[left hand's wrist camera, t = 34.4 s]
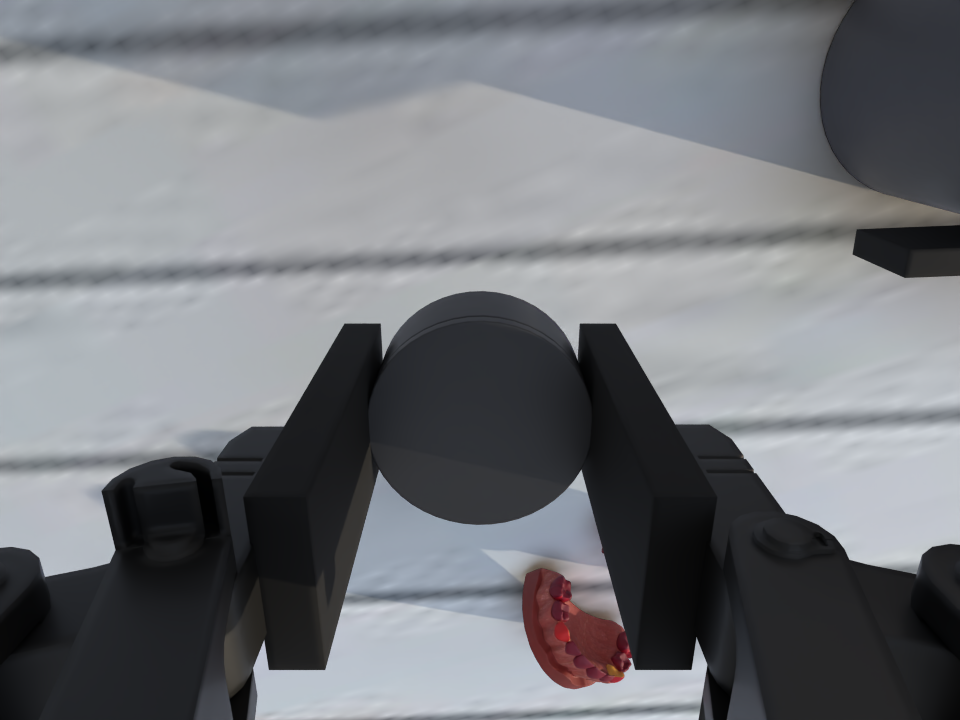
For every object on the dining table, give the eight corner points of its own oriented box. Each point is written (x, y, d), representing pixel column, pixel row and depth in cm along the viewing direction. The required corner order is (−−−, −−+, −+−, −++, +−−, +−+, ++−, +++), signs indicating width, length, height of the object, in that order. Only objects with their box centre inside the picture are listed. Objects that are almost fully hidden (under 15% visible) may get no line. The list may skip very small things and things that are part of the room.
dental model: (754, 629, 26) (597, 730, 28) (721, 560, 30) (585, 654, 32) (663, 540, 25) (505, 653, 27) (641, 480, 29) (505, 584, 31)
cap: (608, 323, 14) (628, 358, 12) (542, 492, 16) (551, 546, 14) (408, 265, 14) (397, 292, 12) (360, 445, 15) (344, 495, 13)
